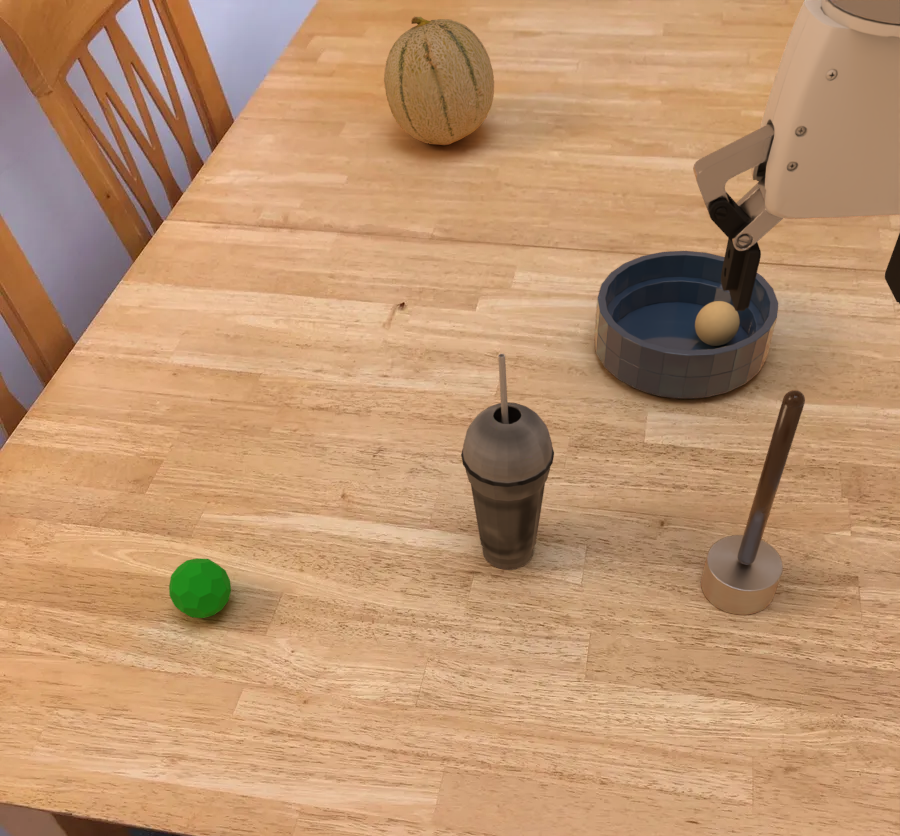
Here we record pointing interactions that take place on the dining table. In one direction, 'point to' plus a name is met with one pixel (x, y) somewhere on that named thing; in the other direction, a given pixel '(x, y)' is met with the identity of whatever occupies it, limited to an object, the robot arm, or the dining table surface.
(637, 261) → the bowl
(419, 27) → the cantaloupe
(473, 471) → the beverage cup
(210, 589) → the polyhedron
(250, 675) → the dining table surface
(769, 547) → the weighted rod stand
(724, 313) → the yellow ball
